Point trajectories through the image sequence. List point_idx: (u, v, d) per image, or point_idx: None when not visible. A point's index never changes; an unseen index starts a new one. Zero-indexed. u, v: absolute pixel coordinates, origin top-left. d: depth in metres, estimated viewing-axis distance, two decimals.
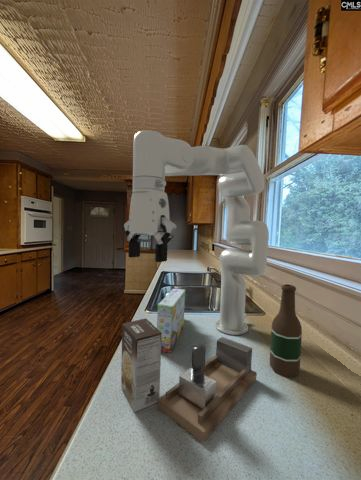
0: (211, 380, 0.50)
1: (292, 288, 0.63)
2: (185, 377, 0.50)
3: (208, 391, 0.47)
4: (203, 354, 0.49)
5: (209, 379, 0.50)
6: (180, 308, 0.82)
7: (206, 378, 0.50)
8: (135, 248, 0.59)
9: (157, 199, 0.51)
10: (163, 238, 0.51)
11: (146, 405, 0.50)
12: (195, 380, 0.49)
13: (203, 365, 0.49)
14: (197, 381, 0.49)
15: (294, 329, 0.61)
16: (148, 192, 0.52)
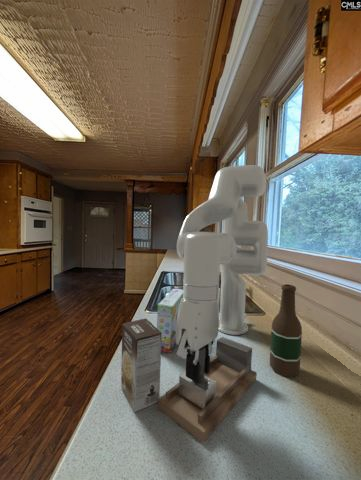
0: (211, 380, 0.50)
1: (292, 288, 0.63)
2: (185, 377, 0.50)
3: (208, 391, 0.47)
4: (203, 354, 0.49)
5: (209, 379, 0.50)
6: None
7: (206, 378, 0.50)
8: None
9: None
10: None
11: (146, 405, 0.50)
12: None
13: (203, 365, 0.49)
14: None
15: (295, 329, 0.61)
16: None
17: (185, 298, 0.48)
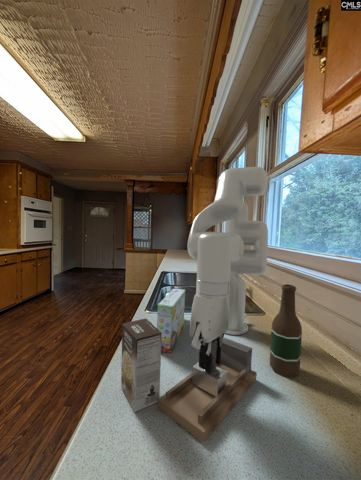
0: (222, 370, 0.53)
1: (292, 288, 0.63)
2: (198, 368, 0.54)
3: (220, 380, 0.51)
4: (215, 346, 0.52)
5: (220, 369, 0.54)
6: (180, 308, 0.82)
7: (217, 368, 0.54)
8: None
9: None
10: None
11: (146, 405, 0.50)
12: None
13: (215, 356, 0.53)
14: None
15: (295, 329, 0.61)
16: None
17: (199, 293, 0.51)
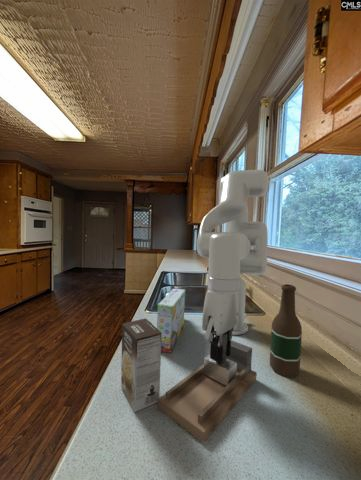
0: (232, 362, 0.57)
1: (292, 288, 0.63)
2: (209, 359, 0.58)
3: (230, 371, 0.54)
4: (225, 339, 0.56)
5: (230, 361, 0.57)
6: (180, 308, 0.82)
7: (227, 360, 0.58)
8: None
9: None
10: None
11: (146, 405, 0.50)
12: None
13: (225, 348, 0.56)
14: None
15: (294, 329, 0.61)
16: None
17: (210, 290, 0.55)
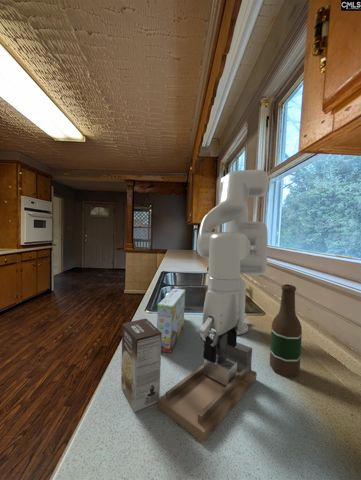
0: (232, 362, 0.57)
1: (292, 288, 0.63)
2: None
3: (230, 371, 0.54)
4: (225, 339, 0.56)
5: (230, 361, 0.57)
6: (180, 308, 0.82)
7: (227, 360, 0.58)
8: None
9: None
10: (236, 324, 0.61)
11: (146, 405, 0.50)
12: (218, 361, 0.56)
13: (225, 348, 0.56)
14: (220, 362, 0.56)
15: (294, 329, 0.61)
16: None
17: (210, 290, 0.55)
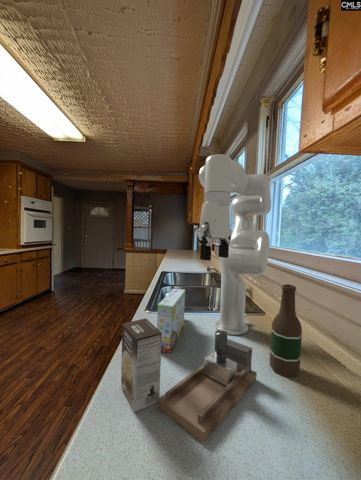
0: (232, 362, 0.57)
1: (292, 288, 0.63)
2: (209, 359, 0.58)
3: (230, 371, 0.54)
4: (225, 339, 0.56)
5: (230, 361, 0.57)
6: (180, 308, 0.82)
7: (227, 360, 0.58)
8: None
9: None
10: None
11: (146, 405, 0.50)
12: (218, 361, 0.56)
13: (225, 348, 0.56)
14: (220, 362, 0.56)
15: (295, 329, 0.61)
16: (228, 206, 0.68)
17: (206, 202, 0.65)
